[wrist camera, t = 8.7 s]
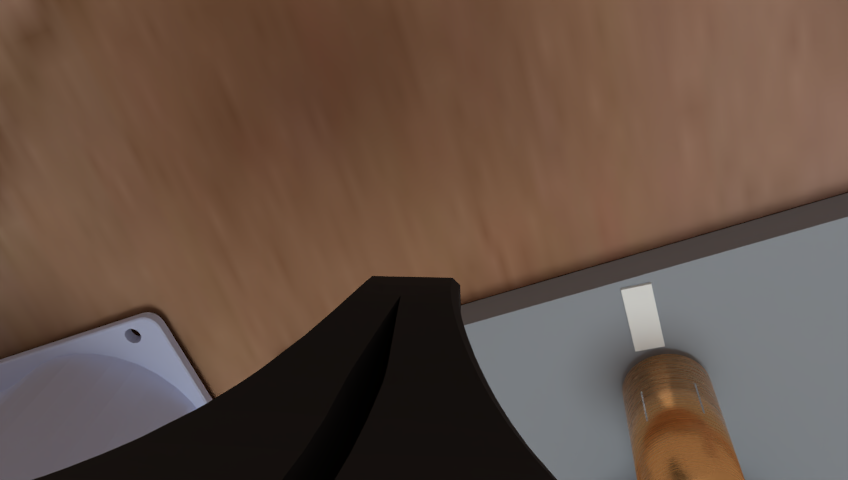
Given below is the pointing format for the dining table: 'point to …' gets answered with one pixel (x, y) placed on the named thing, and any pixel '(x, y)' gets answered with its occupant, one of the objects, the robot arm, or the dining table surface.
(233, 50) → the dining table surface
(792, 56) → the dining table surface
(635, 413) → the crank
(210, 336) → the dining table surface
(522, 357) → the stand
